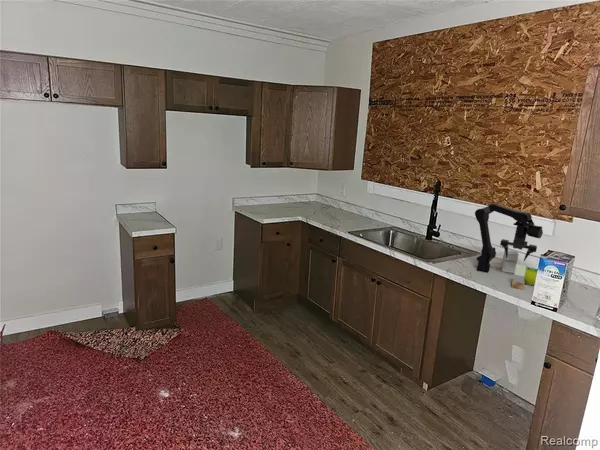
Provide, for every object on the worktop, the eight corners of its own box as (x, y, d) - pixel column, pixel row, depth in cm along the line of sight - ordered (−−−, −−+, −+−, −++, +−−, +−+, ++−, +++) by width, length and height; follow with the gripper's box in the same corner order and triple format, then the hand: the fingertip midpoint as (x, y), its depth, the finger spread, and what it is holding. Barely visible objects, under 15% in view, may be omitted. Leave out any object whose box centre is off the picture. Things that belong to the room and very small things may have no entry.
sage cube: (514, 274, 228) (516, 265, 227) (515, 271, 232) (516, 263, 231) (524, 276, 225) (526, 267, 224) (524, 274, 230) (526, 265, 228)
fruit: (519, 280, 242) (523, 264, 240) (537, 283, 239) (541, 267, 236) (520, 285, 234) (523, 268, 232) (539, 288, 230) (542, 271, 228)
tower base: (511, 288, 229) (512, 281, 228) (511, 284, 234) (512, 278, 233) (523, 290, 226) (524, 283, 225) (523, 287, 232) (524, 280, 231)
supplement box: (502, 271, 256) (505, 252, 253) (500, 268, 263) (504, 249, 260) (515, 273, 254) (518, 254, 251) (513, 270, 260) (517, 251, 257)
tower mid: (513, 281, 229) (514, 274, 228) (513, 278, 233) (515, 272, 232) (523, 283, 226) (524, 276, 225) (523, 280, 230) (525, 274, 229)
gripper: (501, 233, 233) (496, 259, 237) (538, 240, 224) (532, 266, 228) (503, 229, 243) (498, 254, 247) (539, 236, 234) (533, 261, 238)
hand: (515, 259), depth 239 cm, fingers open, 9 cm apart
